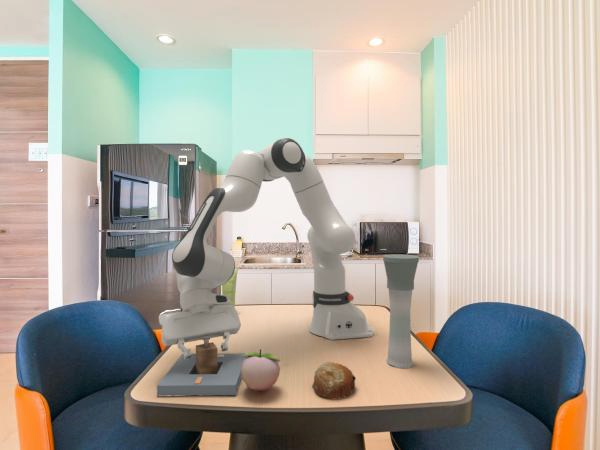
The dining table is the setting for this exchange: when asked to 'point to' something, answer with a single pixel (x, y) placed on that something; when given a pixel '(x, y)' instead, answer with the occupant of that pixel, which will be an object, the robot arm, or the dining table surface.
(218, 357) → the socket plate
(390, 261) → the container
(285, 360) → the dining table surface
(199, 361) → the wooden peg with knob
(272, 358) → the decorative fruit
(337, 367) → the bread roll
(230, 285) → the tube
